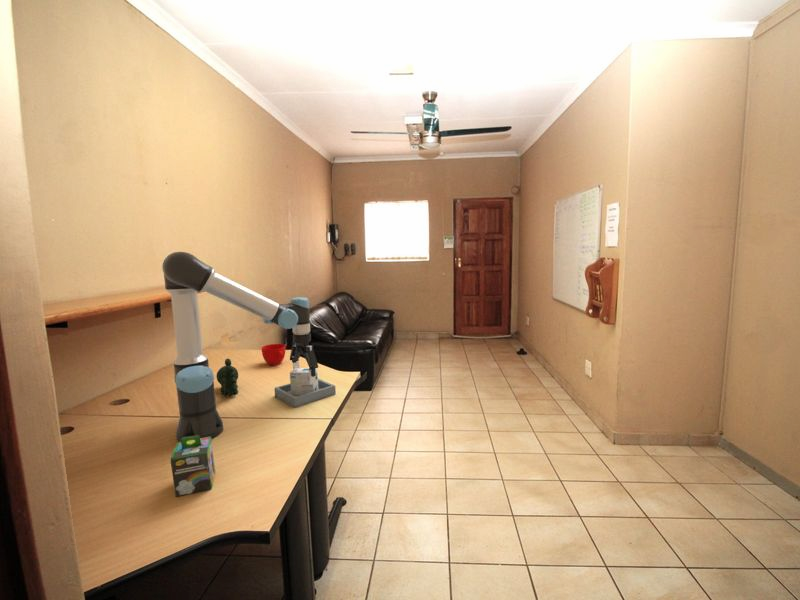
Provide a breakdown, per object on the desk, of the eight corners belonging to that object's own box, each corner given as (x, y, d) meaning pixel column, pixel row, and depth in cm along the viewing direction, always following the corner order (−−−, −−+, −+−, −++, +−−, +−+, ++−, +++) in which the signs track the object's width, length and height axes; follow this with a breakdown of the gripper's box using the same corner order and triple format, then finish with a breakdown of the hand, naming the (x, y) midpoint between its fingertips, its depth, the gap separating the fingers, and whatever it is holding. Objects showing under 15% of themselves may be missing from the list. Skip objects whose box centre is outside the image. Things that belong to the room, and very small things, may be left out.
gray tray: (295, 407, 160) (294, 398, 160) (275, 396, 173) (274, 387, 173) (335, 394, 174) (335, 385, 173) (314, 384, 187) (313, 376, 186)
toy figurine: (243, 401, 172) (237, 380, 194) (240, 361, 168) (234, 344, 190) (220, 406, 168) (216, 383, 189) (216, 365, 164) (213, 346, 185)
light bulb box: (319, 390, 176) (317, 367, 175) (314, 396, 170) (313, 372, 168) (296, 390, 177) (294, 367, 176) (290, 395, 171) (289, 372, 169)
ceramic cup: (271, 370, 210) (270, 352, 209) (258, 363, 223) (257, 346, 222) (293, 364, 219) (292, 347, 218) (280, 359, 232) (279, 342, 230)
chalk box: (215, 472, 115) (211, 424, 113) (212, 490, 107) (207, 439, 105) (180, 479, 112) (175, 430, 110) (174, 498, 104) (168, 446, 102)
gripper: (324, 335, 163) (327, 384, 166) (295, 327, 181) (297, 371, 184) (309, 338, 158) (312, 388, 161) (280, 330, 176) (283, 375, 179)
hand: (304, 379), depth 173 cm, fingers open, 13 cm apart
